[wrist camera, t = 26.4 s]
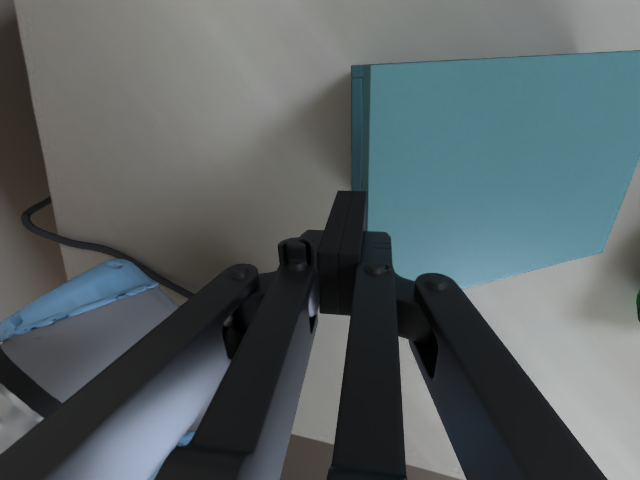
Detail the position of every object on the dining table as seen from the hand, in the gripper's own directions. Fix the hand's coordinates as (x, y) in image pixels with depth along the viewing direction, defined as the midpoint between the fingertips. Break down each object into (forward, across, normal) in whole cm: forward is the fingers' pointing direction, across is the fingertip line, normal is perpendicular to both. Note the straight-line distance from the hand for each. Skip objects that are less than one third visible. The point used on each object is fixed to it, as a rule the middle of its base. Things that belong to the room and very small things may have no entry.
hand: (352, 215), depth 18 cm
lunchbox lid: (+6, +10, 0) cm, 11 cm away
